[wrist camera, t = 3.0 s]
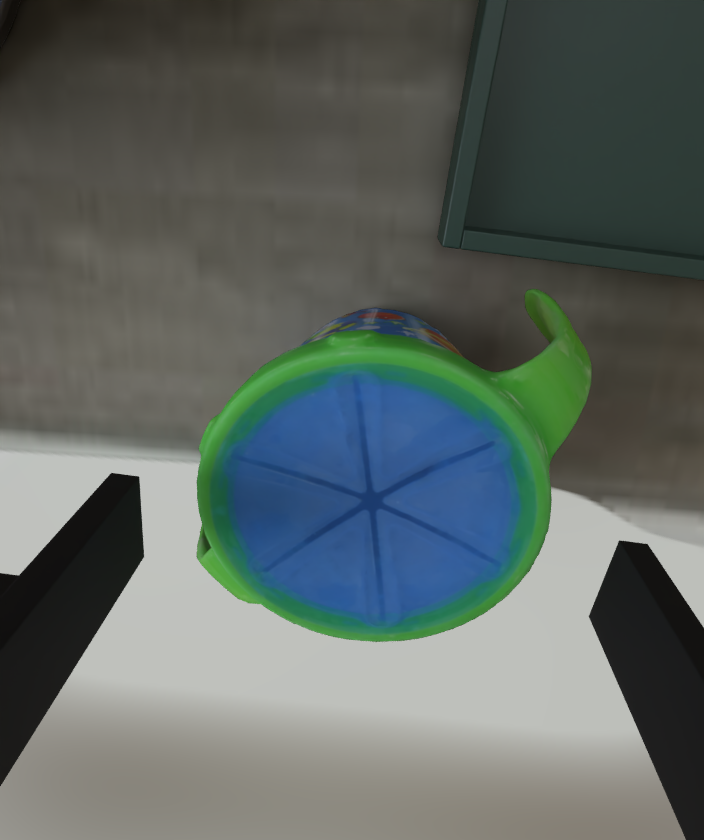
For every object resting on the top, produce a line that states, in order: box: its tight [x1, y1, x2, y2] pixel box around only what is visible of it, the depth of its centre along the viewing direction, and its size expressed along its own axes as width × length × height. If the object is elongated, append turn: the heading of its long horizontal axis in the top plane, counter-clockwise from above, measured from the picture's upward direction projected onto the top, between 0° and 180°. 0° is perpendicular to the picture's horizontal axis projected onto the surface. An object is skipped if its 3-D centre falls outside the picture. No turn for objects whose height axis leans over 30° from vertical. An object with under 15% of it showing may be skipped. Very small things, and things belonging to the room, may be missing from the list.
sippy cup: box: [197, 289, 592, 642], centre depth 21 cm, size 16×10×10 cm
